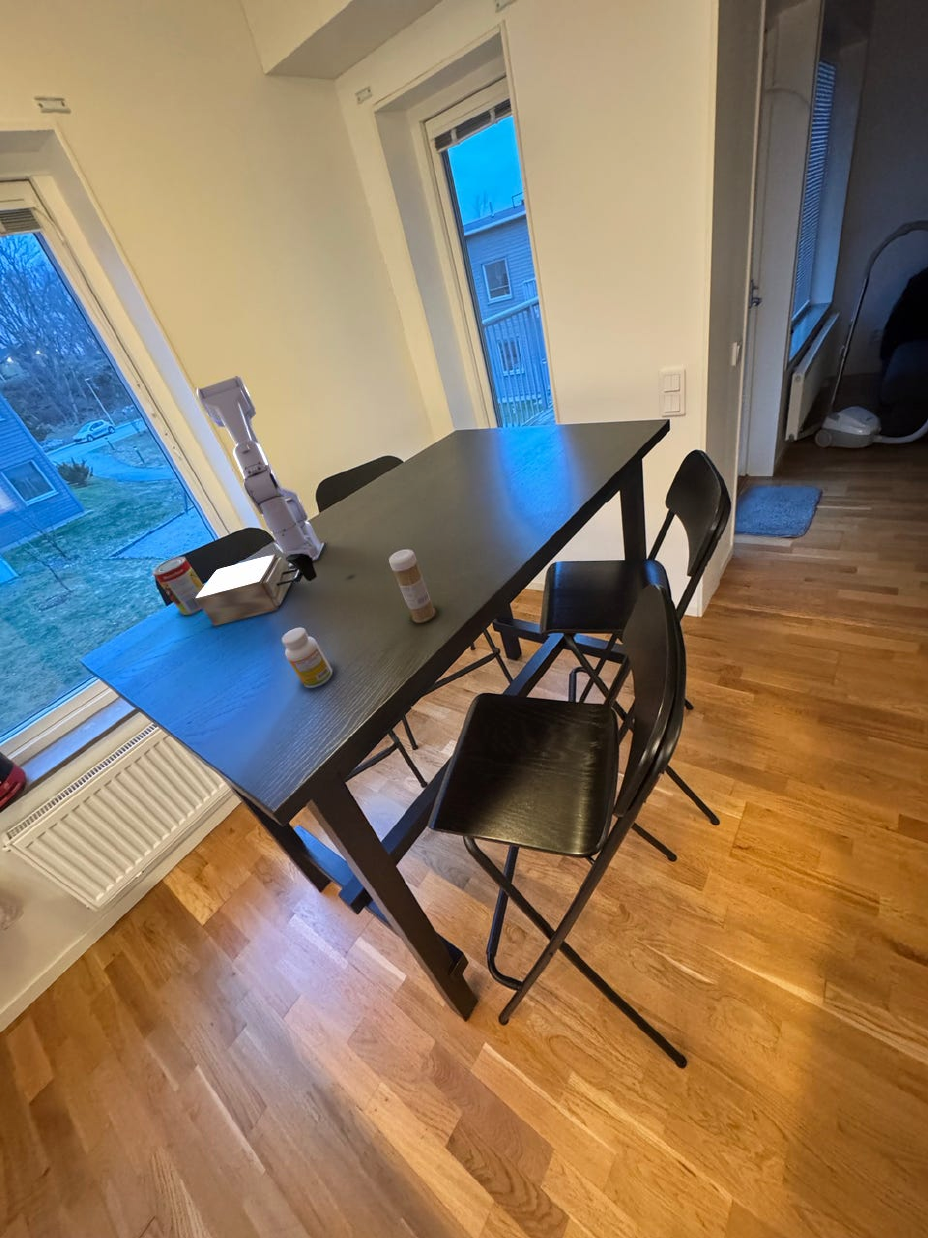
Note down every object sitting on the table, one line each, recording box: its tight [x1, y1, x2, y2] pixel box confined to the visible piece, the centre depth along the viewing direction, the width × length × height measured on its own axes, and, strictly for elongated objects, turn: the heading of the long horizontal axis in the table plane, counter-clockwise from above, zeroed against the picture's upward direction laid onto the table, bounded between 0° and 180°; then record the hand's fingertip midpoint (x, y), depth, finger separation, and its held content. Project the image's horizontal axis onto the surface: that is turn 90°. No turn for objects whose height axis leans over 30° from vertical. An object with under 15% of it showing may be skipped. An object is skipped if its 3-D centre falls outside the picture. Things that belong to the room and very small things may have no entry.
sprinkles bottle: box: [388, 549, 436, 624], centre depth 88 cm, size 5×5×13 cm
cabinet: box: [195, 553, 280, 627], centre depth 113 cm, size 15×13×8 cm
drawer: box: [262, 556, 304, 606], centre depth 113 cm, size 20×12×6 cm, turn 92°
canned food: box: [151, 556, 205, 616], centre depth 119 cm, size 8×8×12 cm
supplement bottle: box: [281, 627, 333, 689], centre depth 82 cm, size 5×5×10 cm
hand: (312, 578), depth 113 cm, fingers closed, pressing on drawer
